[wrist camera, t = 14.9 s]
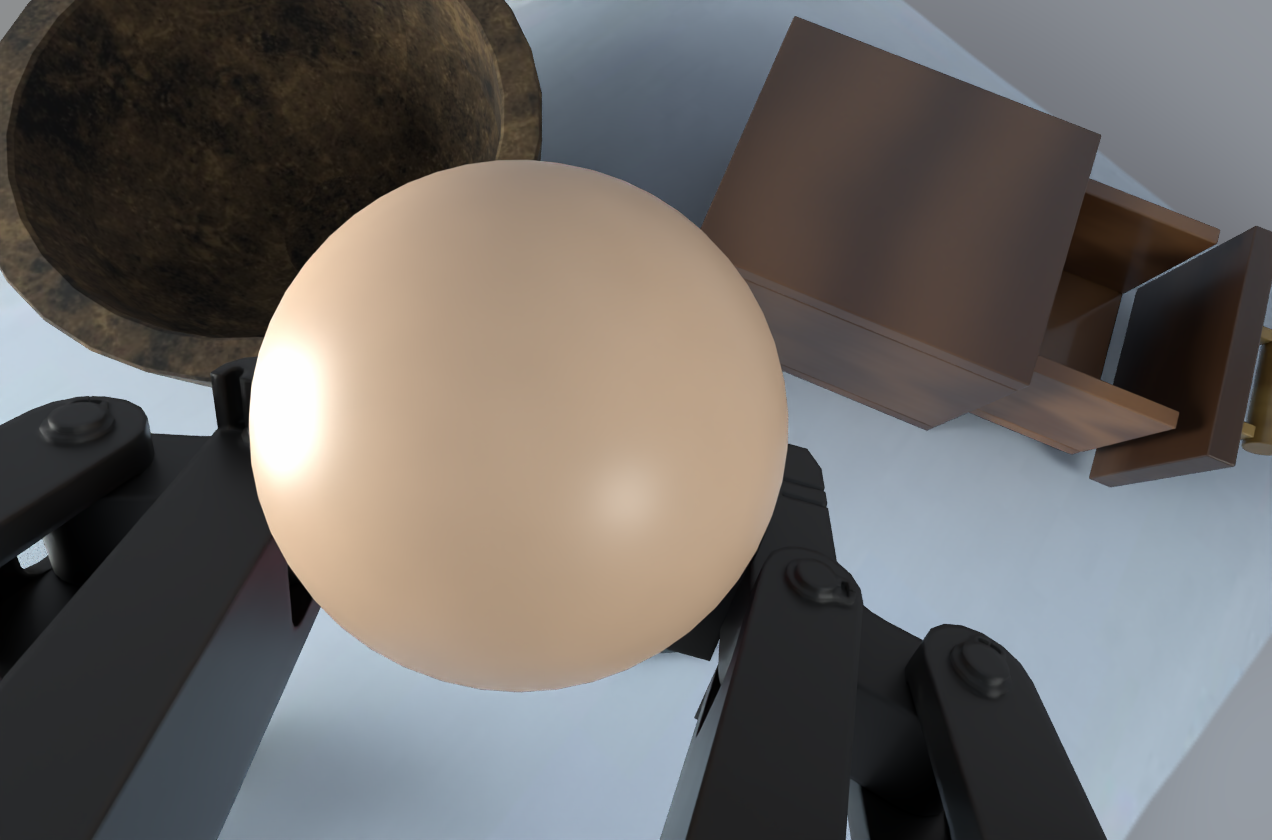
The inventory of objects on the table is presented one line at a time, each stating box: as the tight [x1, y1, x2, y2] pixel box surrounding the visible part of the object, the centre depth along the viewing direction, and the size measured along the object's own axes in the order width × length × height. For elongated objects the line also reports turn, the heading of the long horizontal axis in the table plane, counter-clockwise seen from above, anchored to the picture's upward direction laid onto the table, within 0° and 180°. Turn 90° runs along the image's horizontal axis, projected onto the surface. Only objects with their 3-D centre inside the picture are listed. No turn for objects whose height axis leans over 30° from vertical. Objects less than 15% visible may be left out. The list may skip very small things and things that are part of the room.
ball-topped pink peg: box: [249, 160, 788, 692], centre depth 12 cm, size 5×5×18 cm
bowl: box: [0, 0, 542, 387], centre depth 31 cm, size 22×22×10 cm
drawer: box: [969, 178, 1272, 487], centre depth 32 cm, size 17×11×7 cm, turn 67°
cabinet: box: [700, 16, 1101, 430], centre depth 32 cm, size 15×13×9 cm
